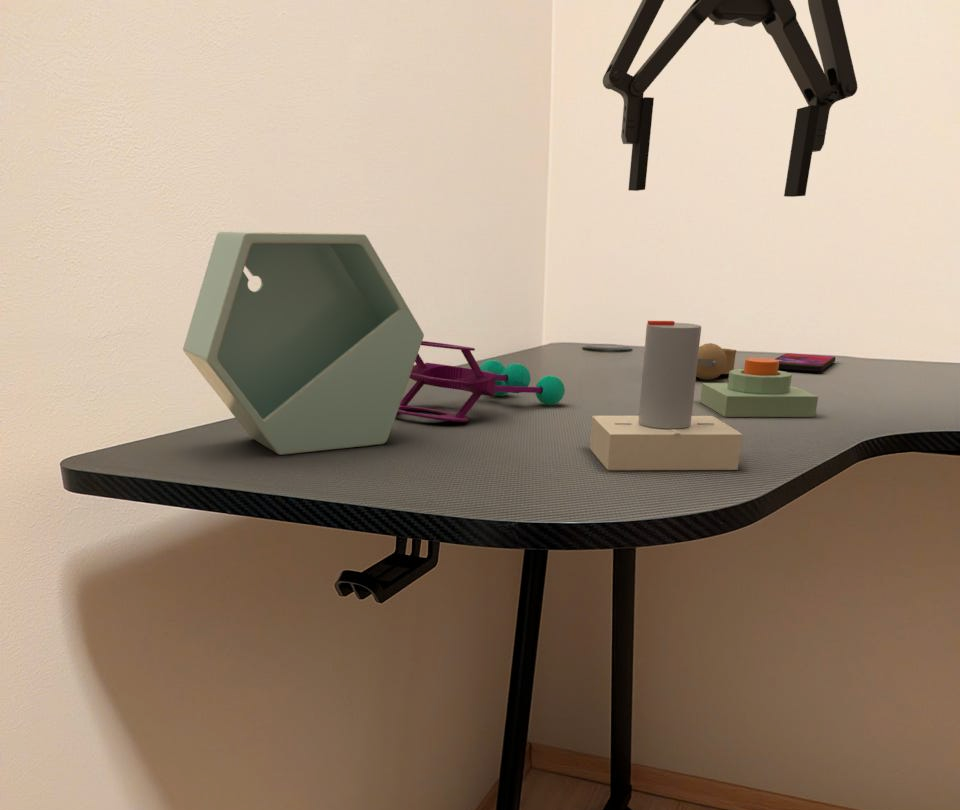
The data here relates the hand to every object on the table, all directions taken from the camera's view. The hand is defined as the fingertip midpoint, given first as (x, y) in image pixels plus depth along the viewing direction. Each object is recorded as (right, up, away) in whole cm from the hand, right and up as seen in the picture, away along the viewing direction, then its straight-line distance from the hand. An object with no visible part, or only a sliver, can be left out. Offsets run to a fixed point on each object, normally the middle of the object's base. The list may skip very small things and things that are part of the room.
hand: (716, 193), depth 76 cm
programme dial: (-4, -19, +1) cm, 19 cm away
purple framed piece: (-21, -12, +23) cm, 34 cm away
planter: (-35, -19, +7) cm, 41 cm away
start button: (+11, -8, +24) cm, 28 cm away
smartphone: (+28, +4, +60) cm, 66 cm away
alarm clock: (+9, -1, +49) cm, 50 cm away
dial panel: (-4, -22, +3) cm, 22 cm away
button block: (+11, -12, +26) cm, 30 cm away
